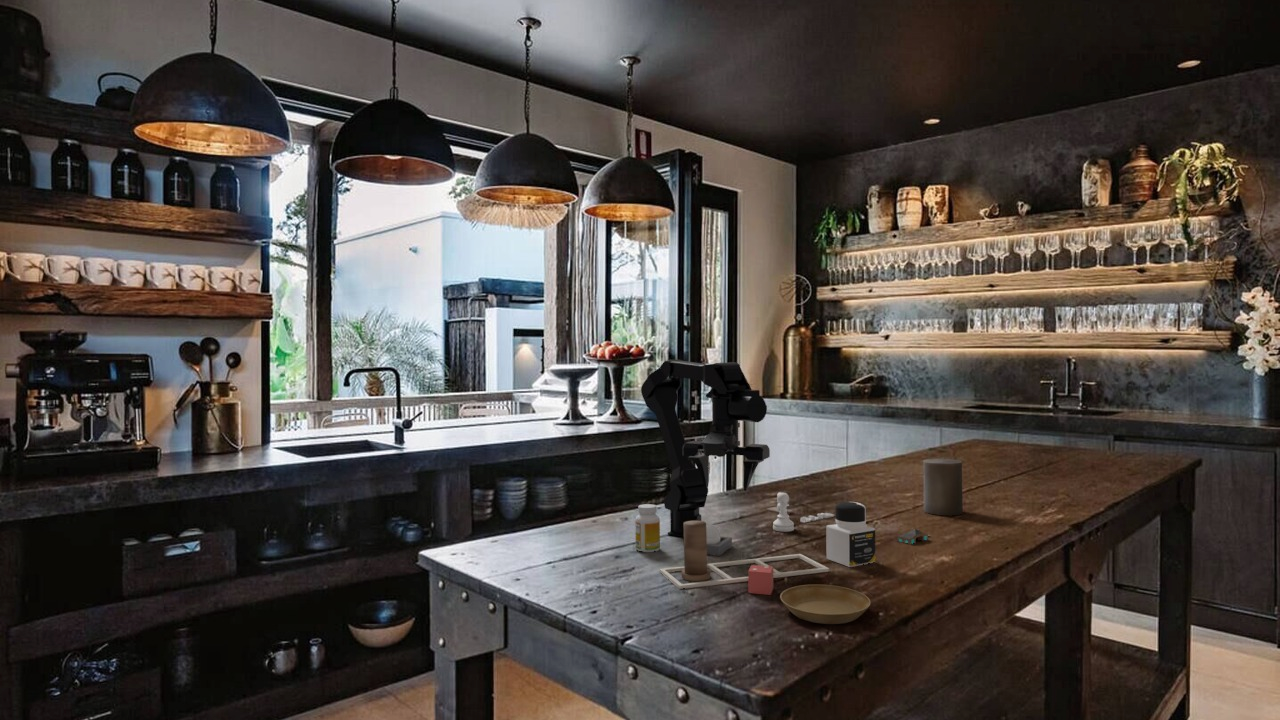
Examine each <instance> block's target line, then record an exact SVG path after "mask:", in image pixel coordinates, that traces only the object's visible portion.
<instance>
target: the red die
mask: <svg viewBox="0 0 1280 720" xmlns="http://www.w3.org/2000/svg"><path fill="white" fill-rule="evenodd" d="M773 568H774V566H772V565H769V566H761V565H758V564H751V566H750V568H749V569H748V573H747V574H748V576H747V577H748V581H747V582H748V585H747V586H748V587H747V588H748V589H747V590H748V591H747V592H748V594H757V595H769V596H771V595H772V593H773V590H774V578H773Z"/></svg>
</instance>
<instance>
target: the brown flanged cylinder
mask: <svg viewBox="0 0 1280 720" xmlns="http://www.w3.org/2000/svg"><path fill="white" fill-rule="evenodd" d="M706 524H707V522H706V521H703V520H701V521H687V522H684V537H683V555H684V556H683V559H684V563H683V565H684V566H685V569H684V570H683V571H681V578H683V580H684V579H685V580H684V581H687V580H688V581H687V582H692V583H696V582H705V581H709V580H710V579H711V575H712V574H711V571H710V570H711V569H709V568H707V564H708V554H707V534H706Z"/></svg>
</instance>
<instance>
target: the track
mask: <svg viewBox="0 0 1280 720" xmlns="http://www.w3.org/2000/svg"><path fill="white" fill-rule="evenodd" d="M791 559H792V560H793V559H800V560H802V561H805V562H806V563H807V564H810V565H812V566H814V567H816V568H811V569H809V568H807V569H800V570H793V571H784V572H783V571H782V572H780V571H779V570H777V569H775V568H774V567H773V579H776V578H786V577H793V576H802V575H809V574H812V575H813V574H818V573H828V572H830V568H829V567H827V566H825V565H824V564H821V563H819V562H818V561H815V560H813V559H812V558H809V557H807V556H805V555H803V554H802V553H794V554H787V555H786V554H784V555H778V556H768V557H767V556H766V557H759V558H758V557H756V558H749V559H741V560H740V559H739V560H730V561H721V562H720V561H719V562H713V563H707V569H709V570H711V571H713V572H714V573H716V574H717V576H719V577H721V578H723V579H713V580H706V581H699V582H690V583H689V582H688V583H681V582H680V581H679V580H678V579H676V578H675V577H674V576H673V575H672V574H670V573H675V571H676V572H682V571H683V570H684V569H685V565H684V566H683V565H682V566H675V567H674V566H673V567H665V568H659V571H658V572H659V574H661V573H662V574H663V575H662V574H661V575H662V576H664V577H665V578H666V579H667V580H668V579H669V580H668V581H670V582H671V583H672V584H673V585H674V586H675V587H676V588H677V589H679V590H683V588H685V589H690V588H691V589H692V588H693V589H694V588H700V587H701V588H702V587H709V586H710V587H711V586H716V585H726V584H734V583H742V582H748V576H741V577H740V576H739V577H732V576H730V575H729V574H727V573H726V572H724V571H723V570H722V569H719V568H720V567H728V566H731V567H732V566H739V565H746V564H748V565H749V564H755V565H761V566H770V565H769V564H767V562H774V561H785V560H791ZM765 562H766V563H765Z"/></svg>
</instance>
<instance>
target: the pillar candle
mask: <svg viewBox="0 0 1280 720" xmlns="http://www.w3.org/2000/svg"><path fill="white" fill-rule="evenodd" d="M941 456H942V455H941ZM922 461H923V462H922V463H923V466H922V467H923V511H924V512H925V513H927V514H930V515H935V516H936V515H937V516H946V517H947V516H949V517H952V515H954V516H959V515H960V514H961V515H962V514H963V512H964V509H963V506H964V505H963V461H962V460H958V459H953V458H952V459H950V458H944V456H942V457H941V458H927V459H924V460H922Z"/></svg>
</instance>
